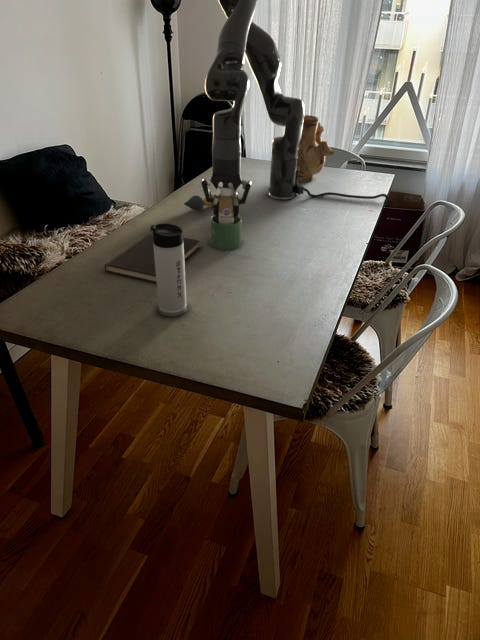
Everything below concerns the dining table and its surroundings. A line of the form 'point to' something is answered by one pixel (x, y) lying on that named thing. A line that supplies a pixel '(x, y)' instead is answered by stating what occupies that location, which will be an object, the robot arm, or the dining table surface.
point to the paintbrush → (198, 202)
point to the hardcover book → (143, 259)
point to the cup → (226, 234)
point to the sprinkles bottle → (226, 206)
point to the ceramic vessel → (311, 149)
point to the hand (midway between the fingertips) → (226, 216)
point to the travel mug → (169, 269)
